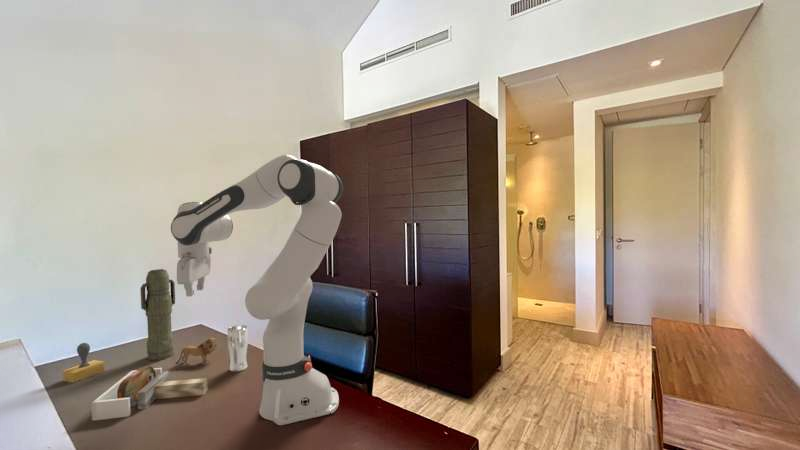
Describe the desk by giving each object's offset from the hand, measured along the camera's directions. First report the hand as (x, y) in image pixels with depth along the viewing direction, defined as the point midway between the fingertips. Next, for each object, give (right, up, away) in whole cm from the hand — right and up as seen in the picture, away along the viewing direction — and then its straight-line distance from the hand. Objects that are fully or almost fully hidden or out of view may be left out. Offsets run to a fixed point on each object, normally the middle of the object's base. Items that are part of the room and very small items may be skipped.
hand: (195, 292), depth 118 cm
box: (-15, -31, -8) cm, 36 cm away
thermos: (-29, -31, +26) cm, 49 cm away
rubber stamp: (-45, -32, +9) cm, 56 cm away
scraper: (-2, -31, -6) cm, 32 cm away
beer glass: (+8, -30, +13) cm, 34 cm away
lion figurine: (-10, -31, +19) cm, 37 cm away
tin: (-13, -32, -8) cm, 35 cm away
